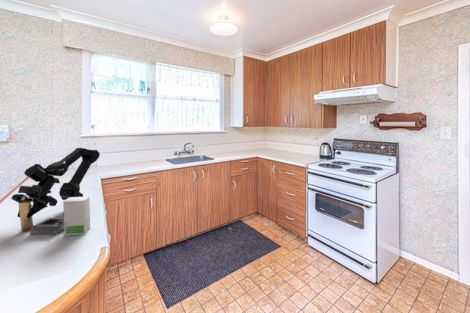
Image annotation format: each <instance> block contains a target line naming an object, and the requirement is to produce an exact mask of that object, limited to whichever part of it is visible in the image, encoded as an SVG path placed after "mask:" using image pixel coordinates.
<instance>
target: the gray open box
mask: <svg viewBox="0 0 470 313" xmlns="http://www.w3.org/2000/svg"><path fill="white" fill-rule="evenodd" d="M63 229H64V217H48V218H46V219H44V220H41V221H40V222H38V223H36V224H33V229H32V230H30V231H29V235H30V236H55V235H57V234H59V233H60V232H62V231H63ZM61 230H62V231H61ZM64 230H65V229H64ZM59 231H60V232H59ZM58 232H59V233H58ZM56 233H57V234H56Z"/></svg>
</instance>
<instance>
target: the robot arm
mask: <svg viewBox="0 0 470 313" xmlns="http://www.w3.org/2000/svg"><path fill="white" fill-rule="evenodd" d="M100 154H101V152H99V150H97V149H89V148H85V147H77V148H74V150H73V151H71V152H70V153H69V154H68V155H66V156H65V157H63V158H62V159H60V160H59V161H56V162H55V161H54V162H52V163H50V164H48V165H47V166H46V167H43V166H42V165H41V164H40V163H35V164H34V165H31V166H29V167H28V168H26V169H25V171H24V175H25V176H26V177H28V178H29V179H31V180H32V181H33V182H36V183H37V184H32V185H30V186H29V185H20V186H19V188H18V191H17V193H14V194H13V195H12V196H11V198H10V199H11V200H12V201H15V202H16V203H18V204H19V203H20V202H24V201H31V203H32V204H31V209H30V211H29V213H28V214H27V216H26V217H27V218H30V217H31V216H32V217H33V216H34V215H36V214H37V213H38V212H40V211H42V210H43V209H46V208H48V205H49V206H50V207H56V206H57V204H58V199H57V198H55V197H53V196H52V195H48V194H52V191H51V189H52V188H53V187H54V185H55V184H60V183H61V182H60V179H59V178H58V177H62V176H64V175H65V174H66V172H68V170H69V167H70V166H72V165H73V164H74V163H75V162H77V161H78V160H79V159H80V158H81V162H80V164H79V165H78V167H77V169H76V171H75V172H74V174H73V175H72V177H71V179H70V180H69V182H64V183H62V185H61V187H60V188H59V191H58V194H59V197H60V199H61V200H63V201H65V200H66V199H68V198H69V197H84V194H83V193H81V192H80V190H81V187H80V185H81V183H82V182H83V179H84V177H85V175H86V174H87V172H88V170H89V169H90V167H91V165H92V164H94V163H95V162H97V161H98V159H99V158H100ZM17 217H18V218H20V212H19V211H18V212H17Z"/></svg>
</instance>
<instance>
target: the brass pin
mask: <svg viewBox="0 0 470 313" xmlns="http://www.w3.org/2000/svg"><path fill="white" fill-rule="evenodd" d="M31 205H32V202H31V201H24V202H20V203H18V212H20V217H19V220H20V228H21V229H20V230H21V232H22V233H27V232H30V230H32V229H33V226H34V221H33V220H34V219H33V216H31V217H30V218H27V217H26V216H27V214H28V213H29V211H30V209H31V208H32V207H31Z"/></svg>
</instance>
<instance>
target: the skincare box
mask: <svg viewBox="0 0 470 313" xmlns="http://www.w3.org/2000/svg"><path fill="white" fill-rule="evenodd" d="M62 203H63V205H62V206H63V218H64V236H65V237H66V236H77V235H79V234H80V235H86V234H87V233H88V232H89V231H90V229H91V211H90V210H91V209H90V207H91V206H90V196H83V197H69V198H68V199H66V200H63V202H62ZM87 231H88V232H87ZM80 235H79V236H80Z"/></svg>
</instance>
